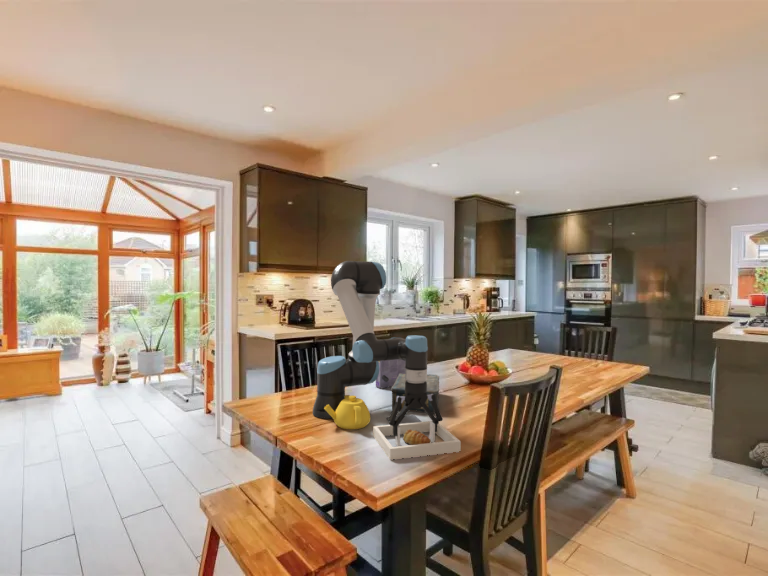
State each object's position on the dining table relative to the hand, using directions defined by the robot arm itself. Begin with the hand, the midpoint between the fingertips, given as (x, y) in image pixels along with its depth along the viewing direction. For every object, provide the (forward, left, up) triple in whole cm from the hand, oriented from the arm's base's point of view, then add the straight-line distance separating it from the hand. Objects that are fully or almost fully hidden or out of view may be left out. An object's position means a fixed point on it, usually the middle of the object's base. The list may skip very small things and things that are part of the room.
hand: (415, 443), depth 138 cm
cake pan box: (+16, +77, 0) cm, 79 cm away
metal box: (+19, +47, -1) cm, 50 cm away
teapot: (-19, +24, 0) cm, 31 cm away
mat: (+4, +21, 0) cm, 21 cm away
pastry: (+1, +1, -1) cm, 2 cm away
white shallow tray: (0, 0, 0) cm, 0 cm away
